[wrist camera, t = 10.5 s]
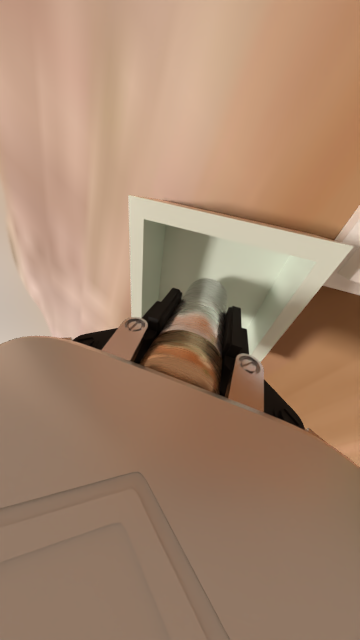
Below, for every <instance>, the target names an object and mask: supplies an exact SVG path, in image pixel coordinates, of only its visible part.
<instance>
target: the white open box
mask: <svg viewBox="0 0 360 640" xmlns="http://www.w3.org/2000/svg"><path fill="white" fill-rule="evenodd" d="M128 198H129V238H130V278H131V317H140V318H142V317H143V316H144V315H145V313H146V312H147V311H148V310H149V309H150V308H151V307H152V306H153V305H154V303H155V302H156V301H160V302H161V301H162V300H163V299H164V298H165V296H166V295H167V294H168V293H169V292H170V290H171V289H172V288H176V289H179V290H180V292H182V297H183V296H184V294H185V292H186V291H187V289H188V288H189V286H190V285H191V284H192V283H193V282H195V281H196V280H199V279H203V278H209V279H213V280H216V281H218V282H219V283H221V284H222V285H223V286H224V288H225V289H226V292H227V295H228V301H227V310H228V308H229V307H232V306H235V307H239V308H241V323H242V328H245V329H247V335H248V346H249V355H251V356H253V357H255V358H256V359H257V360H258V361H259V362H261V361H262V360H263V359H264V357H265V356H266V355H267V354H268V352H269V351H270V350H271V349H272V347H273V346H274V345H275V344H276V342H277V341H278V340H279V339H280V337H281V336H282V335H283V334H284V332H285V331H286V330H287V329H288V328H289V326H290V325H291V324H292V323H293V321H294V320H295V319H296V318H297V316H298V315H299V314H300V313H301V311H302V310H303V309H304V308H305V306H306V305H307V304H308V303H309V301H310V300H311V299H312V298H313V297H314V295H315V294H316V293H317V292H318V290H319V289H320V288H321V287H322V285H323V284H324V283H325V282H326V280H327V279H328V278H329V277H330V275H331V274H332V273H333V272H334V270H335V269H336V268H337V267H338V266H339V264H340V263H341V262H342V261H343V259H344V258H345V257H346V256H347V254H348V253H349V252H350V251H351V249H352V248H353V247H354V246H351V245H347V244H344V243H341V242H337V241H334V240H331V239H327V238H324V237H321V236H317V235H314V234H310V233H305V232H301V231H297V230H292V229H288V228H283V227H279V226H275V225H270V224H266V223H261V222H257V221H253V220H248V219H244V218H239V217H235V216H231V215H226V214H222V213H217V212H213V211H208V210H204V209H200V208H195V207H191V206H186V205H182V204H178V203H173V202H169V201H164V200H159V199H153V198H146V197H139V196H133V195H128ZM181 299H182V298H181ZM226 312H227V311H226Z"/></svg>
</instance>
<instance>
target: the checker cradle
mask: <svg viewBox="0 0 360 640" xmlns="http://www.w3.org/2000/svg"><path fill="white" fill-rule="evenodd" d="M334 241H337V242H341V243H344V244H347V245H351V246H354V247H353V248H352V249H351V251H350V252H349V253H348V254H347V256H346V257H345V258H344V259H343V261H342V262H341V263H340V264H339V266H338V267H337V268H336V269H335V270H334V272H333V273H332V274H331V275H330V277H329V278H328V279H327V280H326V282H325V283H324V284H323V285H322V286H326V287H330V288H334V289H337V290H341V291H345V292H349V293H353V294H356V295H360V205H359V207H358V208H357V209H356V211H355V212H354V214H353V215H352V216H351V218H350V219H349V221H348V222H347V223H346V225H345V226H344V228H343V229H342V230H341V232H340V233H339V235H338V236H337V237H336V239H335V240H334Z"/></svg>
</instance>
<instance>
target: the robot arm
mask: <svg viewBox="0 0 360 640" xmlns="http://www.w3.org/2000/svg"><path fill="white" fill-rule="evenodd" d="M181 298H182V292H180V290H179V289H176V288H172V289H171V290H170V292H169V293H168V294H167V295H166V296H165V298H164V299H163V300H162V301H161V302H160V301H156V302H155V303H154V305H153V306H152V307H151V308H150V309H149V310H148V311H147V312H146V313H145V315H144V316H143V317H142V318H140V317H131V318H128V319H126V320H124V321H123V322H122V324H121V325H120V326H119V328H116V329H110V330H105V331H99V332H94V333H88V334H84V335H80V336H78V337H76V338H75V339H74V340H72V338H57V337H49V336H27V337H20V338H16V339H12V340H9V341H7V342H4V343H2V344H0V640H360V467H359V466H357V465H356V464H355V463H354V462H353V461H351V460H350V459H349V458H348V457H346V456H345V455H343V454H342V453H341V452H339V451H338V450H337V449H335V448H334V447H332V446H331V445H329V444H328V443H326V442H325V441H324V440H323V439H322V438H320V437H319V436H318V435H317V434H316V433H314V432H313V431H312V430H311V429H309V428H308V429H305V428H304V425H303V423H302V421H301V419H300V418H299V416H298V415H297V414H296V413H295V411H294V410H293V409H292V408H291V407H290V406H289V405H288V404H287V403H286V402H285V401H284V400H283V399H282V398H281V397H280V396H279V395H278V394H277V392H276V391H275V390H274V389H273V388H272V387H271V386H270V385H269V384H268V383H267V382H266V381H265V380H264V370H263V366H262V364H261V363H260V362H259V361H258V360H257V359H256V358H255V357H253V356H251V355H249V346H248V335H247V329H245V328H242V323H241V308H239V307H235V306H232V307H229V308H228V310H227V312H226V317H225V326H224V336H223V345H222V372H221V382H220V393H219V395H218V394H215V393H213V392H210V391H208V390H205V389H202V388H200V387H197V386H195V385H192V384H189V383H187V382H184V381H182V380H179V379H176V378H174V377H171V376H168V375H166V374H163V373H161V372H158V371H155V370H153V369H150V368H147V367H145V366H142V365H139V363H140V361H141V360H142V358H143V357H144V355H145V354H146V352H147V350H148V349H149V347H150V346H151V344H152V343H153V341H154V340H155V338H156V337H157V336H158V335H159V334H160V332H161V331H162V329H163V328H164V326H165V324H166V323H167V321H168V320H169V318H170V316H171V315H172V313H173V312H174V310H175V309H176V307H177V305H178V304H179V302H180V301H181Z"/></svg>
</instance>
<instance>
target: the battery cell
mask: <svg viewBox="0 0 360 640" xmlns="http://www.w3.org/2000/svg"><path fill="white" fill-rule="evenodd" d="M227 301H228V295H227V292H226V289H225V288H224V286H223V285H222V284H221V283H219V282H218V281H216V280H213V279H209V278H203V279H199V280H196V281H195V282H193V283H192V284H191V285H190V286H189V288H188V289H187V291H186V292H185V294H184V296H183V297H182V299H181V301H180V302H179V304H178V305H177V307H176V309H175V310H174V312H173V313H172V315H171V316H170V318H169V320H168V321H167V323H166V324H165V326H164V328H163V329H162V331H161V332H160V334H159V335H158V336H157V337H156V338H155V340H154V341H153V343H152V344H151V346H150V347H149V349H148V350H147V352H146V354H145V355H144V357H143V358H142V360H141V361H140V363H139V365H142V366H145V367H147V368H150V369H153V370H155V371H158V372H161V373H163V374H166V375H168V376H171V377H174V378H176V379H179V380H182V381H184V382H187V383H189V384H192V385H195V386H197V387H200V388H202V389H205V390H208V391H210V392H213V393H215V394H218V395H219V393H220V382H221V372H222V345H223V336H224V326H225V317H226V311H227Z"/></svg>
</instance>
